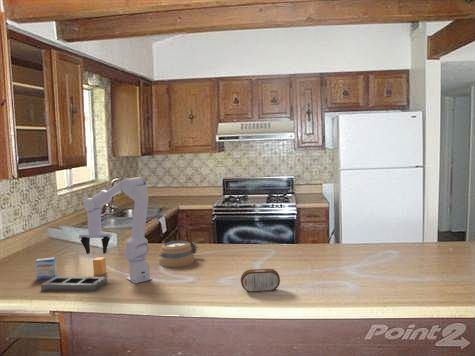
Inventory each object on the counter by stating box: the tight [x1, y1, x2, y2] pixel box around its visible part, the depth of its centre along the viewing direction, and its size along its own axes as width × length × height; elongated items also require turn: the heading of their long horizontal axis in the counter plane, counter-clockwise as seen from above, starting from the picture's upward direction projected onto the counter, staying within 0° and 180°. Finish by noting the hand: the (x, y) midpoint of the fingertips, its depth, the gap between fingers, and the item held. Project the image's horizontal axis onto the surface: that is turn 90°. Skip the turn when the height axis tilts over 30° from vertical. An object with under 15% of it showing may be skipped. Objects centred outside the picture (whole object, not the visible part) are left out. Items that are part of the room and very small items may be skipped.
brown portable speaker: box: [240, 268, 281, 293], centre depth 157 cm, size 15×3×8 cm, turn 92°
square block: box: [92, 256, 107, 276], centre depth 188 cm, size 4×4×7 cm
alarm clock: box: [158, 240, 199, 268], centre depth 203 cm, size 17×9×23 cm
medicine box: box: [35, 256, 58, 281], centre depth 185 cm, size 8×4×9 cm, turn 105°
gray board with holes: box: [40, 276, 108, 292], centre depth 172 cm, size 24×10×2 cm, turn 81°
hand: (96, 253), depth 187 cm, fingers open, 7 cm apart
